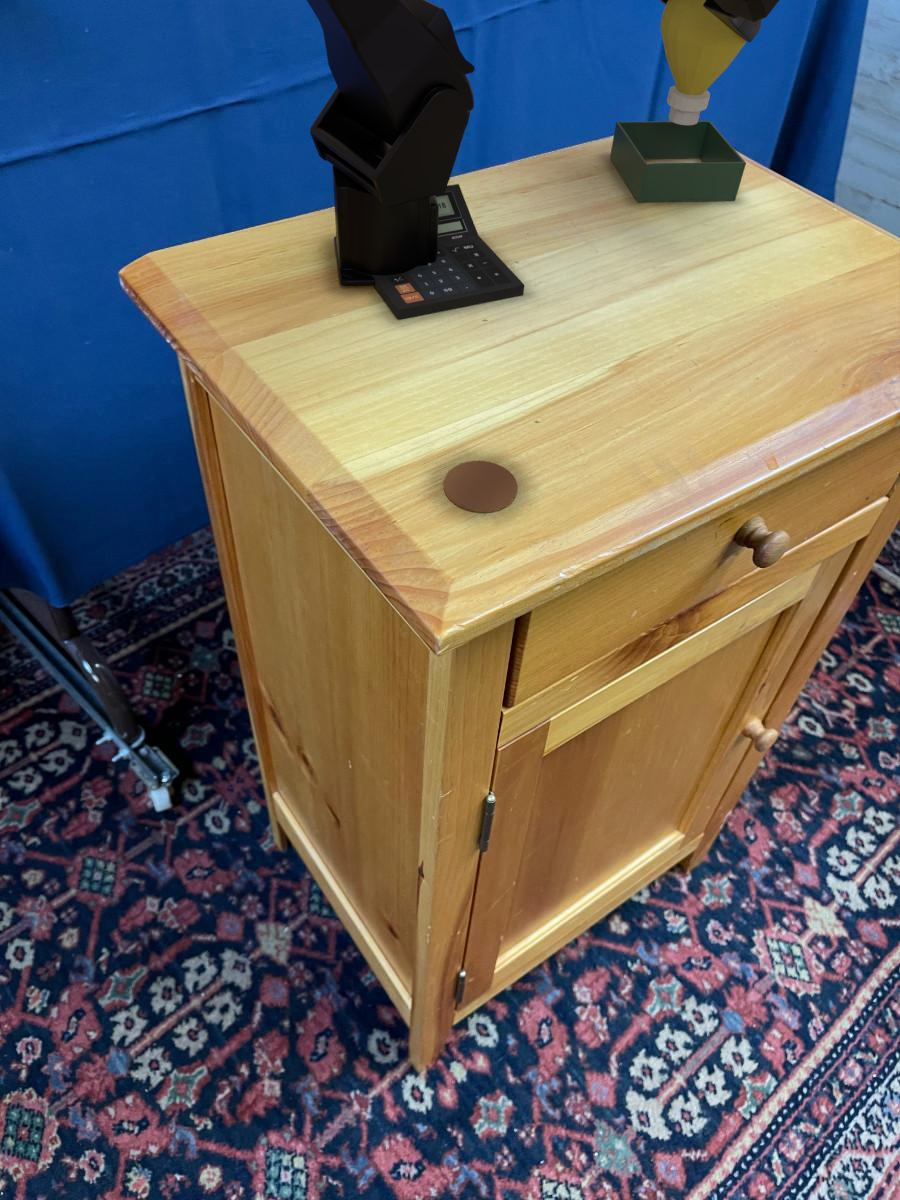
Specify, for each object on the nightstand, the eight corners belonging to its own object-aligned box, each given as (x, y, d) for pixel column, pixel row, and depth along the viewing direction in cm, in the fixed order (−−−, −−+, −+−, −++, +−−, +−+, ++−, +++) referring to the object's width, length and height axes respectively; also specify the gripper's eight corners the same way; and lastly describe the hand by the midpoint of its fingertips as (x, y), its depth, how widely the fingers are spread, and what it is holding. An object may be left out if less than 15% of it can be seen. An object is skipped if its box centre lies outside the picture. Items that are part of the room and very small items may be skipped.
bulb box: (637, 202, 70) (645, 164, 68) (609, 158, 75) (616, 121, 73) (735, 200, 71) (746, 162, 69) (700, 157, 76) (710, 120, 74)
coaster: (449, 515, 45) (449, 512, 45) (438, 465, 48) (438, 462, 48) (524, 509, 46) (524, 507, 46) (509, 460, 48) (509, 458, 48)
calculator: (397, 321, 57) (398, 279, 55) (339, 240, 64) (337, 199, 62) (523, 296, 60) (528, 255, 58) (454, 220, 67) (456, 181, 64)
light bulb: (626, 108, 71) (654, -41, 63) (694, 100, 73) (730, -45, 65) (670, 140, 67) (707, -15, 59) (741, 131, 69) (785, -20, 61)
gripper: (871, -281, 46) (902, -46, 58) (631, -315, 55) (703, -106, 68) (724, -83, 48) (785, 100, 61) (519, -148, 58) (609, 22, 71)
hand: (719, 22), depth 65 cm, fingers closed on light bulb, 6 cm apart
